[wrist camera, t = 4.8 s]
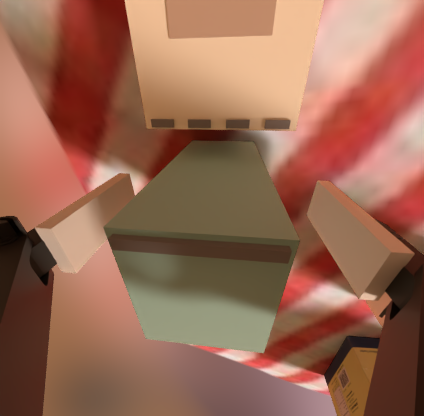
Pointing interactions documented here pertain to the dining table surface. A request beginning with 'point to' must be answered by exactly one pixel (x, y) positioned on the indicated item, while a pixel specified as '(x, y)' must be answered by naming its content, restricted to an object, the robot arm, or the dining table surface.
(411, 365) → the robot arm
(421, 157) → the dining table surface
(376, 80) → the dining table surface
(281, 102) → the block
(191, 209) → the pale green block
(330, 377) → the protein box
